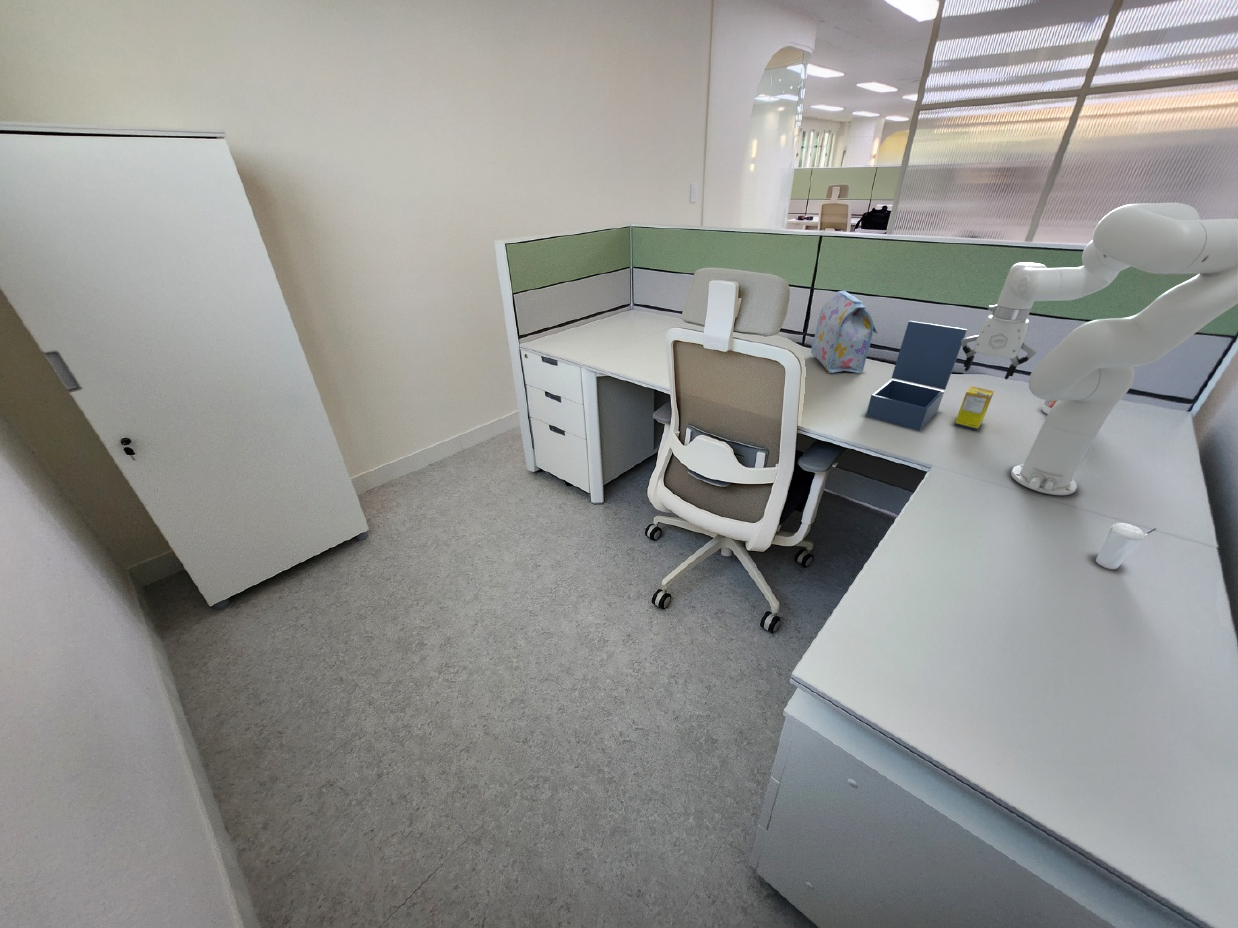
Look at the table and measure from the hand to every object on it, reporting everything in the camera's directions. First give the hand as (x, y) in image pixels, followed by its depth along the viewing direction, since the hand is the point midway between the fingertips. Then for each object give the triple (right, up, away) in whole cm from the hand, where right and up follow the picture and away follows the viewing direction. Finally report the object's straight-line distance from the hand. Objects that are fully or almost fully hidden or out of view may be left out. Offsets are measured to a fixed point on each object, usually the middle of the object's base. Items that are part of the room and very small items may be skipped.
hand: (986, 373), depth 137 cm
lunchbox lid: (-9, +8, +12) cm, 17 cm away
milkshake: (-9, -46, -43) cm, 64 cm away
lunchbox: (-15, -10, +15) cm, 24 cm away
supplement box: (0, -14, +8) cm, 16 cm away
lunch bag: (-17, +14, +55) cm, 60 cm away
